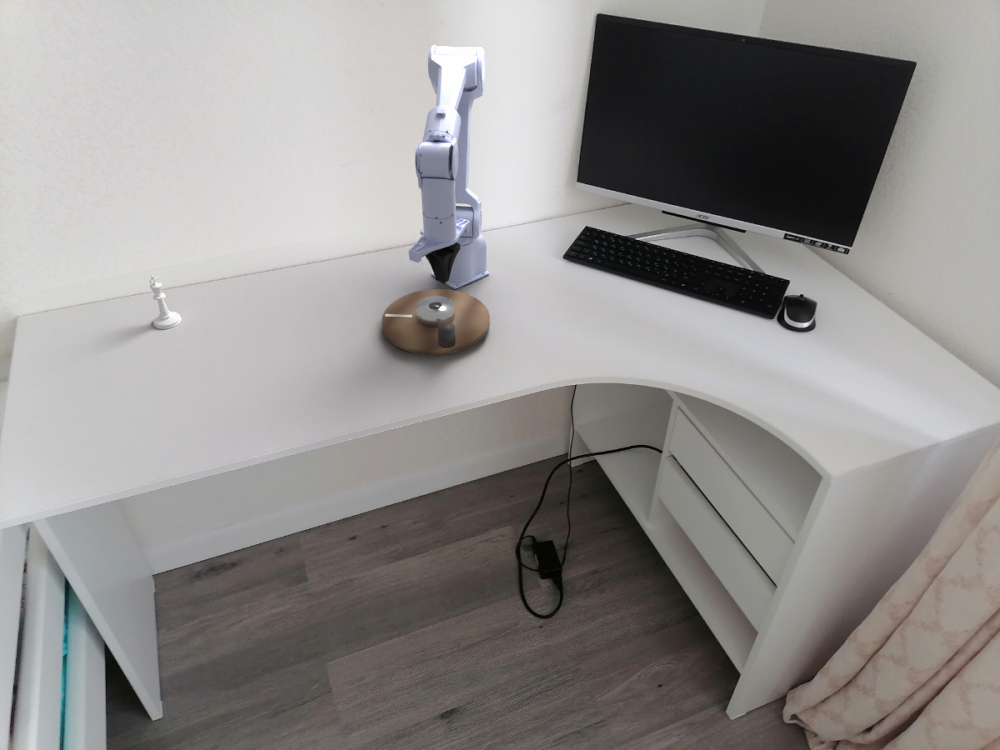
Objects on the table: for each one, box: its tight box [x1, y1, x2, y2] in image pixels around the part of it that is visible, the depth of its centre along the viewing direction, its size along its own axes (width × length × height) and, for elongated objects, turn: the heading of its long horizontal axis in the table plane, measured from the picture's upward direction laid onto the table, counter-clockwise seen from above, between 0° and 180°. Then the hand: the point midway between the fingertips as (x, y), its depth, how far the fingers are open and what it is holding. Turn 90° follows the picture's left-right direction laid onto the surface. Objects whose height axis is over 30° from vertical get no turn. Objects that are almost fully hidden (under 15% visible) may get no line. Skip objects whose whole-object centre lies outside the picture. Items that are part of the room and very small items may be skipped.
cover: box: [416, 296, 455, 328], centre depth 135 cm, size 7×7×3 cm
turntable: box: [381, 288, 490, 356], centre depth 135 cm, size 20×20×5 cm
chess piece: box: [149, 274, 182, 330], centre depth 135 cm, size 5×5×10 cm
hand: (442, 280), depth 133 cm, fingers closed
